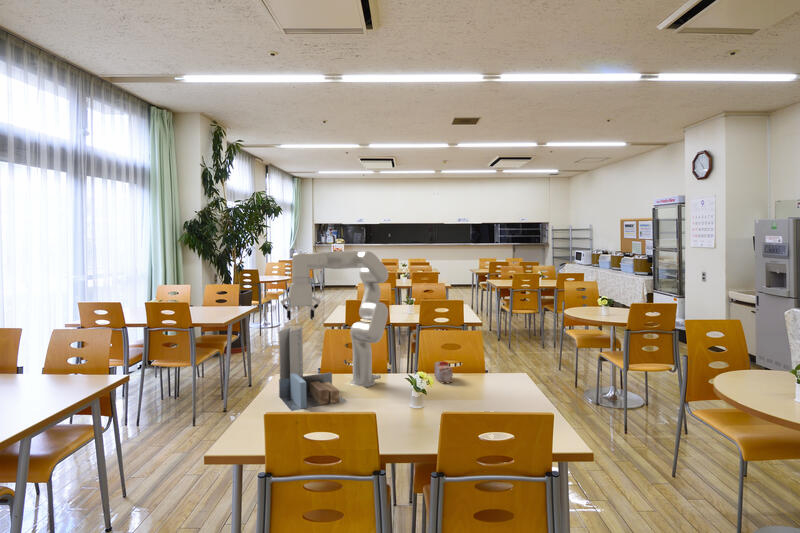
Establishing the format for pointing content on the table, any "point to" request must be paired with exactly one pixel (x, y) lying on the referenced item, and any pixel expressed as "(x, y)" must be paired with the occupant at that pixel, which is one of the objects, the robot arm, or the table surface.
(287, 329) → the brochure
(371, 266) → the robot arm
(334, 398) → the offcut short
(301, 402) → the sheet
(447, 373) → the food item
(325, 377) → the rack
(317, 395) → the offcut tall
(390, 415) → the table surface
